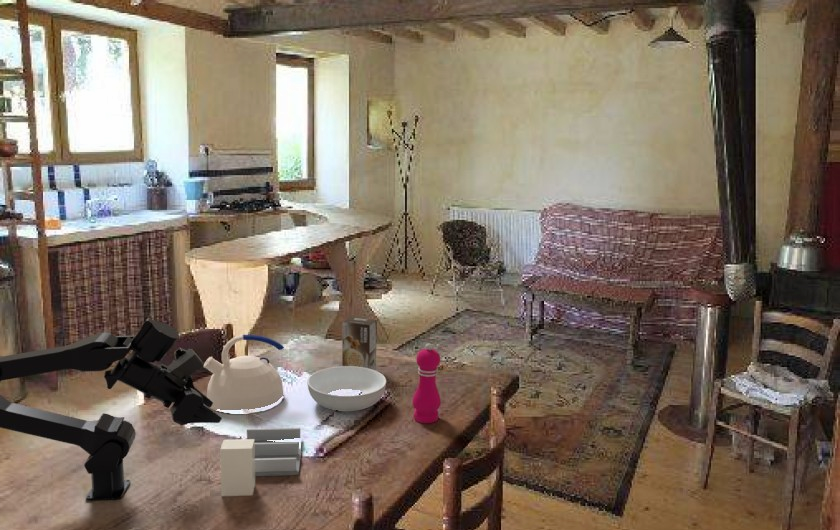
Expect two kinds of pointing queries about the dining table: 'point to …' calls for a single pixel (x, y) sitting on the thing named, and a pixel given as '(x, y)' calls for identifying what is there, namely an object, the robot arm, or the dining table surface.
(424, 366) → the pepper mill
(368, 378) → the serving bowl
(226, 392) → the kettle
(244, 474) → the cream upright block
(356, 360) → the coffee box
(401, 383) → the dining table surface
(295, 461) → the plate rack
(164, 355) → the robot arm
